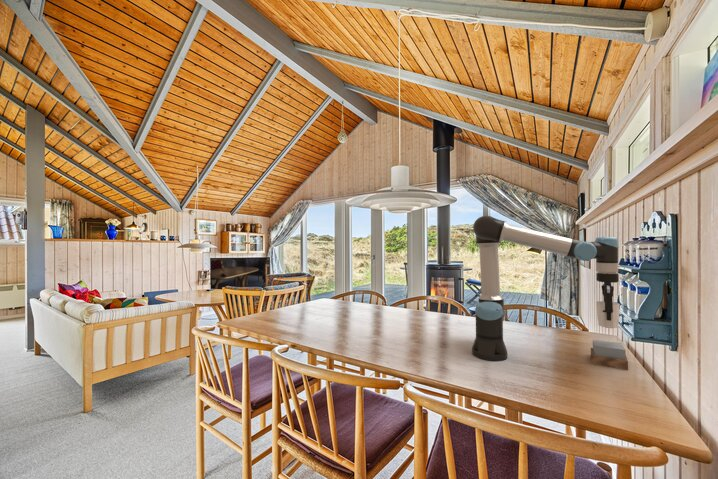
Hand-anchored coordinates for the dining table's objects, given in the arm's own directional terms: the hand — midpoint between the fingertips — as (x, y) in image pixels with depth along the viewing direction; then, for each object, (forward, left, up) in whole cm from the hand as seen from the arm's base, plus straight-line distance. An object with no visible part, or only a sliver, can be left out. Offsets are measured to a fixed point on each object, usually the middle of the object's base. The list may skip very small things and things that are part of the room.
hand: (608, 325), depth 135 cm
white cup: (0, 0, 0) cm, 0 cm away
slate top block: (0, 0, -12) cm, 12 cm away
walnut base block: (0, 0, -16) cm, 16 cm away
